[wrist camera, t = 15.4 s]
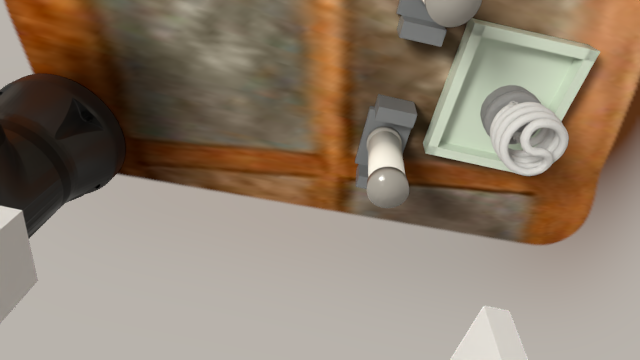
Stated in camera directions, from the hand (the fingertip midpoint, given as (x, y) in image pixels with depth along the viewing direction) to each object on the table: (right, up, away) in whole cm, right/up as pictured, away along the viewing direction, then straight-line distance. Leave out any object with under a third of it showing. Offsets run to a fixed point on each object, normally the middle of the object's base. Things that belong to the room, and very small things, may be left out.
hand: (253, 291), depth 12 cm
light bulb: (+21, +12, +32) cm, 40 cm away
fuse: (+9, +8, +36) cm, 38 cm away
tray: (+21, +12, +32) cm, 40 cm away
